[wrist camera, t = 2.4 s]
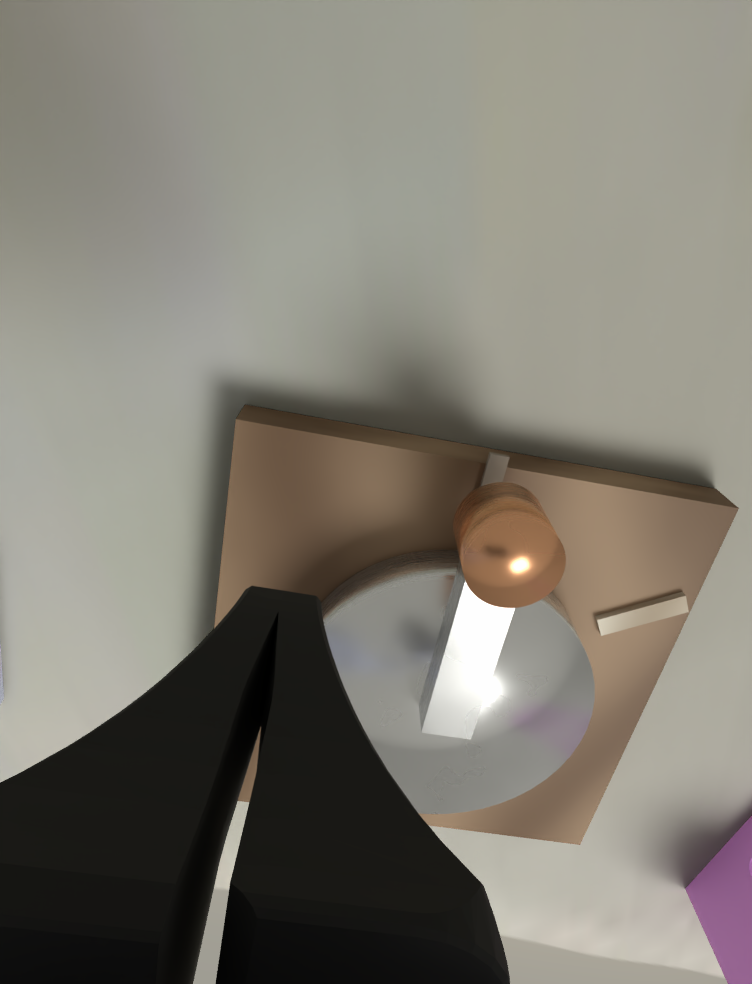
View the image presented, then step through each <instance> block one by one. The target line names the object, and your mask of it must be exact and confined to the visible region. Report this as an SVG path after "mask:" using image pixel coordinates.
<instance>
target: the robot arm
mask: <svg viewBox="0 0 752 984" xmlns="http://www.w3.org/2000/svg"><path fill="white" fill-rule="evenodd" d="M3 699H4V692H3V676H2V661H1V646H0V704H1V703H2V702H3ZM260 727H261V732H260V742H259V752H258V761H257V771H256V776H255V780H254V785H253V789H252V793H251V798H250V802H249V807H248V811H247V815H246V820H245V824H244V828H243V832H242V836H241V840H240V845H239V849H238V853H237V857H236V861H235V866H234V870H233V874H232V878H231V882H230V889H229V896H228V902H227V910H226V916H225V923H224V930H223V937H222V943H221V951H220V957H219V964H218V971H217V978H216V984H510V978H509V971H508V965H507V960H506V957H505V952H504V948H503V944H502V941H501V938H500V934H499V931H498V927H497V924H496V921H495V917H494V914H493V911H492V908H491V906H490V903H489V900H488V897H487V894H486V891H485V889H484V886H483V885H482V883H481V882H480V881H479V880H478V879H477V878H476V877H475V876H474V875H473V874H472V873H471V872H470V871H469V870H468V869H467V868H466V867H465V866H464V864H463V863H462V862H461V861H460V860H459V859H458V858H457V857H456V856H455V855H454V854H453V853H452V852H451V851H450V850H449V849H448V848H447V847H446V846H445V845H444V844H443V842H442V841H441V840H440V839H439V838H438V837H437V836H436V834H435V833H434V832H433V831H432V829H431V828H430V827H429V826H428V824H427V823H426V822H425V821H424V820H423V818H422V817H421V816H420V815H419V813H418V812H417V811H416V809H415V808H414V806H413V805H412V804H411V802H410V801H409V799H408V798H407V797H406V795H405V794H404V792H403V791H402V790H401V788H400V787H399V785H398V784H397V783H396V781H395V780H394V778H393V777H392V776H391V774H390V773H389V771H388V770H387V768H386V766H385V765H384V763H383V762H382V760H381V758H380V757H379V755H378V753H377V752H376V750H375V748H374V747H373V745H372V743H371V741H370V739H369V738H368V736H367V734H366V732H365V730H364V729H363V727H362V725H361V723H360V721H359V719H358V717H357V715H356V713H355V710H354V708H353V706H352V704H351V702H350V699H349V697H348V695H347V693H346V690H345V688H344V685H343V683H342V680H341V678H340V675H339V672H338V669H337V667H336V664H335V661H334V658H333V655H332V652H331V649H330V646H329V642H328V638H327V635H326V631H325V626H324V622H323V616H322V608H321V601H320V600H319V598H318V597H317V596H315V595H309V594H302V593H296V592H290V591H283V590H277V589H270V588H264V587H258V586H250V587H249V588H247V589H246V590H245V591H244V592H243V594H242V595H241V597H240V598H239V599H238V601H237V602H236V603H235V605H234V606H233V607H232V608H231V610H230V611H229V612H228V613H227V615H226V616H225V617H224V618H223V619H222V620H221V621H220V623H219V624H218V625H217V626H216V627H215V628H214V629H213V630H212V631H211V632H210V633H209V634H208V636H207V637H206V638H205V639H204V640H203V641H202V642H201V643H200V644H199V645H198V646H197V647H196V648H195V649H194V650H193V651H192V652H191V653H190V654H189V655H188V656H187V657H186V658H185V659H183V660H182V661H181V662H180V663H179V664H178V665H177V666H176V667H175V668H174V669H173V670H171V671H170V672H169V673H168V674H167V675H166V676H165V677H164V678H163V679H161V680H160V681H159V682H158V683H157V684H155V685H154V686H153V687H152V688H151V689H149V690H148V691H147V692H146V693H144V694H143V695H142V696H141V697H139V698H138V699H137V700H135V701H134V702H133V703H131V704H130V705H129V706H127V707H126V708H125V709H123V710H122V711H121V712H119V713H118V714H116V715H115V716H113V717H112V718H110V719H109V720H107V721H106V722H104V723H103V724H102V725H100V726H99V727H97V728H96V729H94V730H93V731H91V732H90V733H88V734H87V735H85V736H83V737H82V738H80V739H79V740H77V741H76V742H74V743H72V744H71V745H69V746H67V747H66V748H64V749H62V750H60V751H58V752H57V753H55V754H53V755H51V756H49V757H48V758H46V759H44V760H42V761H41V762H39V763H37V764H35V765H33V766H32V767H30V768H28V769H26V770H24V771H23V772H21V773H19V774H17V775H15V776H13V777H11V778H9V779H7V780H5V781H3V782H1V783H0V984H193V981H194V976H195V971H196V967H197V962H198V957H199V953H200V948H201V944H202V939H203V934H204V930H205V925H206V921H207V916H208V911H209V907H210V902H211V898H212V893H213V889H214V884H215V880H216V875H217V871H218V866H219V862H220V858H221V854H222V851H223V847H224V843H225V840H226V836H227V833H228V830H229V826H230V823H231V820H232V817H233V814H234V811H235V807H236V804H237V801H238V798H239V795H240V791H241V788H242V785H243V782H244V779H245V776H246V772H247V769H248V766H249V763H250V760H251V756H252V753H253V750H254V747H255V744H256V740H257V737H258V734H259V731H260Z"/></svg>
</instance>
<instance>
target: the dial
mask: <svg viewBox="0 0 752 984" xmlns="http://www.w3.org/2000/svg"><path fill="white" fill-rule="evenodd" d="M453 532H454V536H455V541H456V545H457V549H458V550H428V551H419V552H412V553H408V554H403V555H399V556H395V557H392V558H389V559H386V560H383V561H381V562H378V563H375V564H373V565H371V566H369V567H367V568H365V569H363V570H361V571H359V572H357V573H356V574H354V575H353V576H351V577H350V578H348V579H347V580H345V581H344V582H342V583H341V584H340V585H339V586H338V587H337V588H336V589H334V590H333V591H332V592H331V593H330V594H329V595H328V596H327V597H326V598H325V599H324V600H323V602H322V603H321V608H322V616H323V622H324V626H325V631H326V635H327V638H328V642H329V646H330V649H331V652H332V655H333V658H334V661H335V664H336V667H337V669H338V672H339V675H340V678H341V680H342V683H343V685H344V688H345V690H346V693H347V695H348V697H349V699H350V702H351V704H352V706H353V708H354V710H355V713H356V715H357V717H358V719H359V721H360V723H361V725H362V727H363V729H364V730H365V732H366V734H367V736H368V738H369V739H370V741H371V743H372V745H373V747H374V748H375V750H376V752H377V753H378V755H379V757H380V758H381V760H382V762H383V763H384V765H385V766H386V768H387V770H388V771H389V773H390V774H391V776H392V777H393V778H394V780H395V781H396V783H397V784H398V785H399V787H400V788H401V790H402V791H403V792H404V794H405V795H406V797H407V798H408V799H409V801H410V802H411V804H412V805H413V806H414V808H415V809H416V811H417V812H418V813H421V814H451V813H461V812H468V811H473V810H478V809H483V808H486V807H490V806H493V805H497V804H500V803H502V802H505V801H507V800H510V799H512V798H515V797H517V796H519V795H521V794H523V793H525V792H527V791H529V790H531V789H532V788H534V787H535V786H537V785H538V784H540V783H541V782H543V781H544V780H546V779H547V778H548V777H549V776H551V775H552V774H553V773H554V772H555V771H557V770H558V769H559V768H560V767H561V766H562V765H563V764H564V763H565V761H566V760H567V759H568V758H569V757H570V756H571V755H572V753H573V752H574V750H575V749H576V748H577V746H578V745H579V743H580V742H581V740H582V738H583V736H584V734H585V732H586V730H587V728H588V725H589V722H590V719H591V716H592V712H593V706H594V700H595V683H594V677H593V671H592V667H591V664H590V662H589V659H588V656H587V653H586V651H585V649H584V647H583V645H582V642H581V640H580V638H579V636H578V634H577V632H576V630H575V627H574V625H573V623H572V621H571V619H570V617H569V615H568V614H567V612H566V610H565V608H564V606H563V605H562V604H561V602H560V601H559V600H558V599H557V597H556V596H555V595H554V594H553V592H552V591H553V590H554V588H555V587H556V586H557V585H558V583H559V582H560V580H561V578H562V576H563V573H564V570H565V565H566V555H565V550H564V547H563V545H562V543H561V541H560V539H559V537H558V535H557V534H556V532H555V530H554V528H553V526H552V524H551V523H550V521H549V519H548V517H547V515H546V513H545V511H544V510H543V508H542V506H541V504H540V502H539V500H538V499H537V498H536V496H535V495H534V494H533V493H532V492H530V491H529V490H528V489H526V488H524V487H522V486H520V485H517V484H513V483H508V482H496V483H490V484H486V485H484V486H481V487H479V488H477V489H475V490H474V491H472V492H471V493H470V494H468V495H467V496H466V497H465V498H464V499H463V500H462V502H461V503H460V505H459V506H458V508H457V510H456V512H455V515H454V520H453Z"/></svg>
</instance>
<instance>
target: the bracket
mask: <svg viewBox="0 0 752 984" xmlns="http://www.w3.org/2000/svg"><path fill="white" fill-rule="evenodd" d="M685 889H686V892H687V894H688V896H689V898H690V900H691V903H692V905H693V907H694V909H695V912H696V914H697V916H698V918H699V920H700V923H701V925H702V927H703V929H704V931H705V934H706V936H707V938H708V940H709V943H710V945H711V947H712V949H713V951H714V954H715V956H716V958H717V960H718V963H719V965H720V967H721V969H722V971H723V974H724V976H725V978H726V980H727V983H728V984H752V816H751V817H750V818H749V819H748V820H747V821H746V822H745V823H744V824H743V826H742V827H741V828H740V829H739V830H738V831H737V832H736V833H735V834H734V835H733V837H732V838H731V839H730V840H729V841H728V842H727V843H726V844H725V845H724V847H723V848H722V849H721V850H720V851H719V852H718V853H717V854H716V855H715V856H714V858H713V859H712V860H711V861H710V862H709V863H708V864H707V865H706V866H705V867H704V869H703V870H702V871H701V872H700V873H699V874H698V875H697V876H696V877H695V878H694V880H693V881H692V882H691V883H690V884H689V885H688V886H687V887H686V888H685Z"/></svg>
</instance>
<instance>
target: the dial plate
mask: <svg viewBox="0 0 752 984" xmlns="http://www.w3.org/2000/svg"><path fill="white" fill-rule="evenodd" d="M496 482H508V483H513V484H517V485H520V486H522V487H524V488H526V489H528V490H529V491H530V492H532V493H533V494H534V495H535V496H536V498H537V499H538V500H539V502H540V504H541V506H542V508H543V510H544V511H545V513H546V515H547V517H548V519H549V521H550V523H551V524H552V526H553V528H554V530H555V532H556V534H557V535H558V537H559V539H560V541H561V543H562V545H563V547H564V550H565V555H566V565H565V570H564V573H563V576H562V578H561V580H560V582H559V583H558V585H557V586H556V587H555V588H554V590H553V591H552V592H553V594H554V595H555V596H556V597H557V599H558V600H559V601H560V602H561V604H562V605H563V606H564V608H565V610H566V612H567V614H568V615H569V617H570V619H571V621H572V623H573V625H574V627H575V630H576V632H577V634H578V636H579V638H580V640H581V642H582V645H583V647H584V649H585V651H586V653H587V656H588V659H589V662H590V664H591V667H592V671H593V677H594V683H595V700H594V706H593V712H592V716H591V719H590V722H589V725H588V728H587V730H586V732H585V734H584V736H583V738H582V740H581V742H580V743H579V745H578V746H577V748H576V749H575V750H574V752H573V753H572V755H571V756H570V757H569V758H568V759H567V760H566V761H565V763H564V764H563V765H562V766H561V767H560V768H559V769H558V770H557V771H555V772H554V773H553V774H552V775H551V776H549V777H548V778H547V779H546V780H544V781H543V782H541V783H540V784H538V785H537V786H535V787H534V788H532V789H531V790H529V791H527V792H525V793H523V794H521V795H519V796H517V797H515V798H512V799H510V800H507V801H505V802H502V803H500V804H497V805H493V806H490V807H486V808H483V809H478V810H473V811H468V812H461V813H451V814H421V813H419V815H420V816H421V817H422V818H423V820H424V821H425V822H426V823H427V824H428V825H430V826H438V827H446V828H454V829H461V830H469V831H477V832H485V833H492V834H500V835H508V836H516V837H523V838H531V839H539V840H547V841H554V842H562V843H570V844H578V845H580V843H581V841H582V839H583V837H584V835H585V833H586V831H587V829H588V826H589V824H590V822H591V820H592V818H593V816H594V814H595V812H596V810H597V807H598V805H599V803H600V801H601V799H602V797H603V795H604V793H605V790H606V788H607V786H608V784H609V782H610V780H611V778H612V776H613V774H614V771H615V769H616V767H617V765H618V763H619V761H620V759H621V757H622V754H623V752H624V750H625V748H626V746H627V744H628V742H629V740H630V738H631V735H632V733H633V731H634V729H635V727H636V725H637V723H638V721H639V718H640V716H641V714H642V712H643V710H644V708H645V706H646V704H647V702H648V699H649V697H650V695H651V693H652V691H653V689H654V687H655V685H656V683H657V680H658V678H659V676H660V674H661V672H662V670H663V668H664V666H665V663H666V661H667V659H668V657H669V655H670V653H671V651H672V649H673V647H674V644H675V642H676V640H677V638H678V636H679V634H680V632H681V630H682V627H683V625H684V623H685V621H686V619H687V617H688V615H689V613H690V611H691V608H692V606H693V604H694V602H695V600H696V598H697V596H698V594H699V591H700V589H701V587H702V585H703V583H704V581H705V579H706V577H707V575H708V572H709V570H710V568H711V566H712V564H713V562H714V560H715V558H716V556H717V553H718V551H719V549H720V547H721V545H722V543H723V541H724V539H725V536H726V534H727V532H728V530H729V528H730V526H731V524H732V522H733V520H734V517H735V515H736V513H737V511H738V509H739V508H738V507H737V506H735V505H734V504H733V503H732V502H731V501H730V500H728V499H727V498H726V497H725V496H724V495H723V494H721V493H720V492H719V491H718V490H717V489H714V488H708V487H703V486H697V485H692V484H686V483H680V482H675V481H669V480H664V479H658V478H652V477H647V476H641V475H636V474H630V473H624V472H619V471H613V470H608V469H602V468H597V467H591V466H585V465H580V464H574V463H569V462H563V461H557V460H552V459H546V458H541V457H535V456H530V455H524V454H518V453H513V452H507V451H502V450H496V449H490V448H485V447H479V446H474V445H468V444H463V443H457V442H451V441H446V440H440V439H435V438H429V437H423V436H418V435H412V434H407V433H401V432H396V431H390V430H384V429H379V428H373V427H368V426H362V425H356V424H351V423H345V422H340V421H334V420H329V419H323V418H317V417H312V416H306V415H301V414H295V413H289V412H284V411H278V410H273V409H267V408H262V407H256V406H250V405H244V407H243V408H242V410H241V412H240V413H239V415H238V416H237V418H236V422H235V431H234V441H233V451H232V460H231V470H230V480H229V489H228V499H227V508H226V518H225V528H224V537H223V547H222V557H221V566H220V576H219V586H218V595H217V605H216V615H215V624H214V628H215V627H216V626H217V625H218V624H219V623H220V621H221V620H222V619H223V618H224V617H225V616H226V615H227V613H228V612H229V611H230V610H231V608H232V607H233V606H234V605H235V603H236V602H237V601H238V599H239V598H240V597H241V595H242V594H243V592H244V591H245V590H246V589H247V588H249V587H250V586H258V587H264V588H270V589H277V590H283V591H290V592H296V593H302V594H309V595H315V596H317V597H318V598H319V600H320V601H321V603H322V602H323V600H324V599H325V598H326V597H327V596H328V595H329V594H330V593H331V592H332V591H333V590H334V589H336V588H337V587H338V586H339V585H340V584H341V583H342V582H344V581H345V580H347V579H348V578H350V577H351V576H353V575H354V574H356V573H357V572H359V571H361V570H363V569H365V568H367V567H369V566H371V565H373V564H375V563H378V562H381V561H383V560H386V559H389V558H392V557H395V556H399V555H403V554H408V553H412V552H419V551H428V550H458V549H457V545H456V541H455V536H454V532H453V520H454V515H455V512H456V510H457V508H458V506H459V505H460V503H461V502H462V500H463V499H464V498H465V497H466V496H467V495H468V494H470V493H471V492H472V491H474V490H475V489H477V488H479V487H481V486H484V485H486V484H490V483H496ZM260 732H261V727H260V731H259V734H258V737H257V740H256V744H255V747H254V750H253V753H252V756H251V760H250V763H249V766H248V769H247V772H246V776H245V779H244V782H243V785H242V788H241V791H240V795H239V798H238V801H244V802H250V798H251V793H252V789H253V785H254V780H255V776H256V771H257V761H258V752H259V742H260Z"/></svg>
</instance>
